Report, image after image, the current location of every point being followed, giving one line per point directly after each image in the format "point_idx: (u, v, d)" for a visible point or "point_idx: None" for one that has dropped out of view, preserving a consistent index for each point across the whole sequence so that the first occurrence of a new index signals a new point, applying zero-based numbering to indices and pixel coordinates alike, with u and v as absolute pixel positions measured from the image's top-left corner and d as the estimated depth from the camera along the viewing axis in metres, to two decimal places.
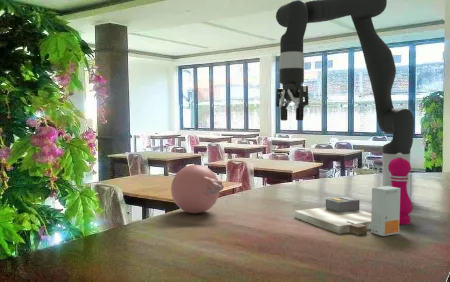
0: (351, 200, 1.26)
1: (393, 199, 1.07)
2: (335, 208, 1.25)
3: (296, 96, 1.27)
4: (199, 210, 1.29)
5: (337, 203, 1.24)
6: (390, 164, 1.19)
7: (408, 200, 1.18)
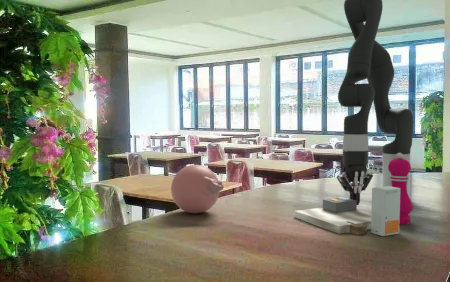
0: (348, 200, 1.26)
1: (393, 199, 1.07)
2: (332, 208, 1.24)
3: None
4: (199, 211, 1.29)
5: (334, 203, 1.23)
6: (390, 164, 1.19)
7: (408, 200, 1.18)
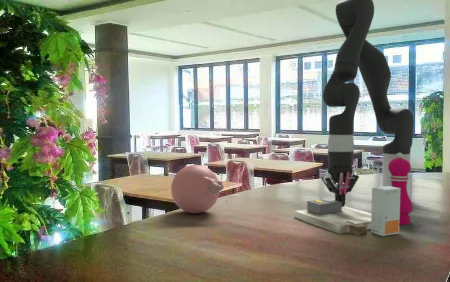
0: (333, 202, 1.23)
1: (393, 199, 1.07)
2: (316, 210, 1.22)
3: None
4: (199, 211, 1.29)
5: (318, 205, 1.21)
6: (390, 164, 1.19)
7: (408, 200, 1.18)
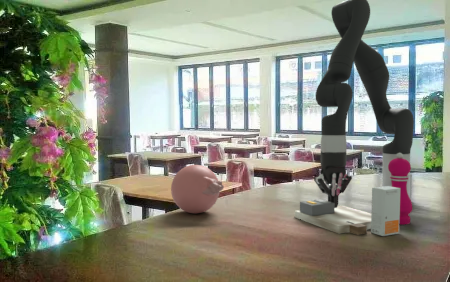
0: (326, 203, 1.22)
1: (393, 199, 1.07)
2: (309, 211, 1.21)
3: None
4: (199, 211, 1.29)
5: (311, 206, 1.20)
6: (390, 164, 1.19)
7: (408, 200, 1.18)
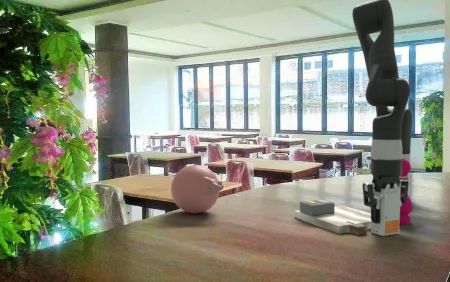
0: (326, 203, 1.22)
1: (393, 199, 1.07)
2: (309, 211, 1.21)
3: None
4: (199, 211, 1.29)
5: (311, 206, 1.20)
6: None
7: (408, 200, 1.18)
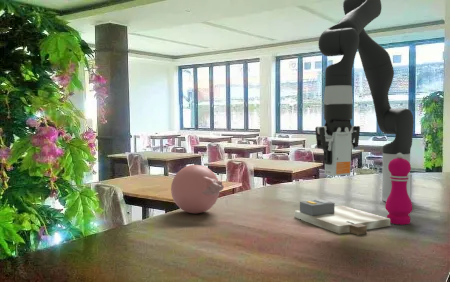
0: (326, 203, 1.22)
1: (344, 142, 1.14)
2: (309, 211, 1.21)
3: None
4: (199, 211, 1.29)
5: (311, 206, 1.20)
6: (390, 164, 1.19)
7: (408, 200, 1.18)
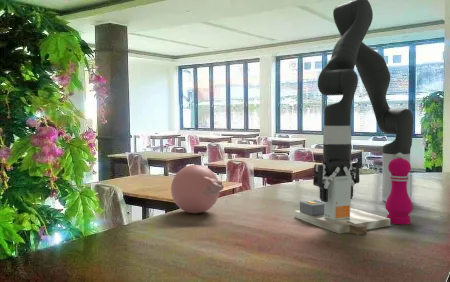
0: None
1: (344, 186, 1.15)
2: (309, 211, 1.21)
3: None
4: (199, 211, 1.29)
5: (311, 206, 1.20)
6: (390, 164, 1.19)
7: (408, 200, 1.18)
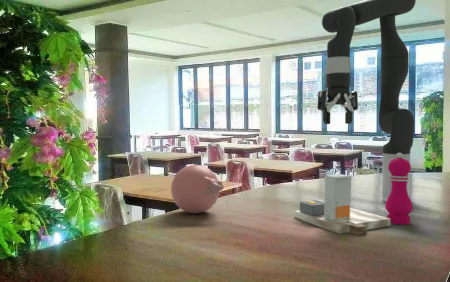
0: None
1: (344, 186, 1.15)
2: (309, 211, 1.21)
3: None
4: (199, 211, 1.29)
5: (311, 206, 1.20)
6: (390, 164, 1.19)
7: (408, 200, 1.18)
